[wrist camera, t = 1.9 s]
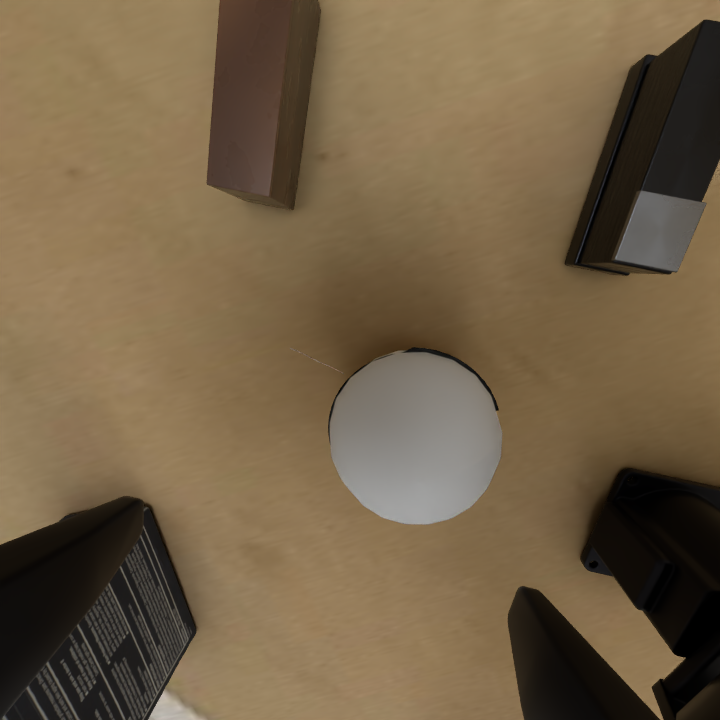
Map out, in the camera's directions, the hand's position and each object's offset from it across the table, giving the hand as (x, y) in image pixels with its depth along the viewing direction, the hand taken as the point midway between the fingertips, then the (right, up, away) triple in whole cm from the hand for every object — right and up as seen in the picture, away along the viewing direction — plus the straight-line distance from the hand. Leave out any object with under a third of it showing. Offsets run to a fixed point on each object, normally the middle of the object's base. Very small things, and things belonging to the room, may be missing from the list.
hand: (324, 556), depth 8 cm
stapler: (+12, +13, +7) cm, 19 cm away
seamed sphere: (+3, +3, +11) cm, 12 cm away
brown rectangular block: (-3, +16, +8) cm, 18 cm away
